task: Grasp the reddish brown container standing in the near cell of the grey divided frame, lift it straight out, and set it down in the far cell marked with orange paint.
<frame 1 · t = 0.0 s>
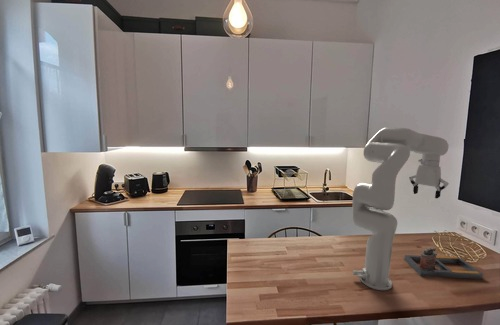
hand: (425, 195, 133), 31 cm above the table, tool pointing down, fingers open, 9 cm apart
grey divided frame: (440, 268, 122), on the table
reddish brown container: (427, 268, 123), resting in grey divided frame
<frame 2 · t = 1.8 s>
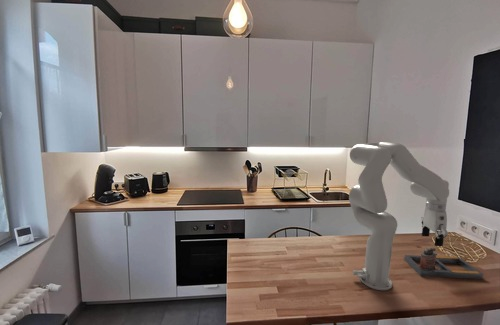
hand: (431, 240, 121), 14 cm above the table, tool pointing down, fingers open, 9 cm apart
nothing on the table moved.
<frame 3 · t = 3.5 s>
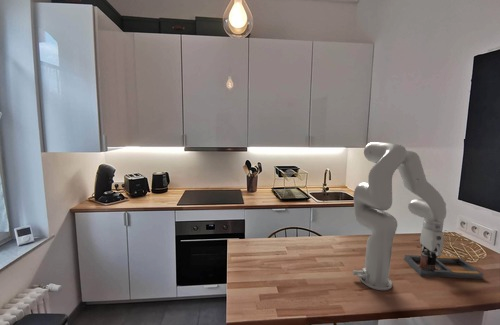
hand: (427, 261, 122), 3 cm above the table, tool pointing down, fingers closed on reddish brown container, 4 cm apart
reddish brown container: (426, 268, 123), resting in grey divided frame, touching gripper
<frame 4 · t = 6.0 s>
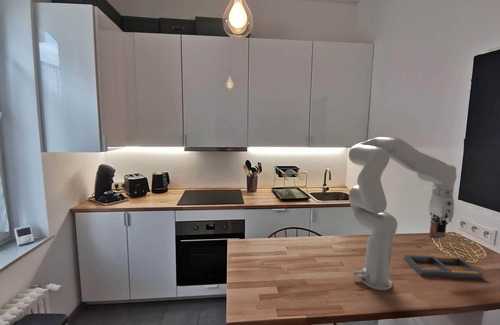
hand: (437, 229, 119), 20 cm above the table, tool pointing down, fingers closed on reddish brown container, 4 cm apart
reddish brown container: (436, 236, 120), point 16 cm above the table, touching gripper
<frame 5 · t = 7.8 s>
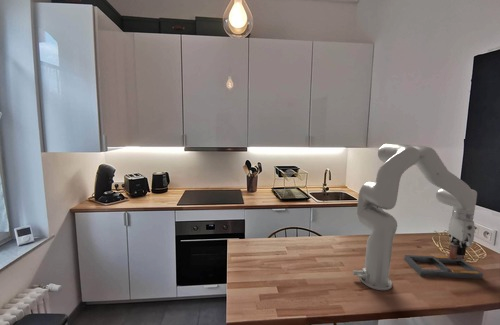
hand: (457, 252, 120), 9 cm above the table, tool pointing down, fingers closed on reddish brown container, 4 cm apart
reddish brown container: (456, 259, 121), point 5 cm above the table, touching gripper
when the fingers open (5 cm above the table, at t = 8.9 s): reddish brown container drops 1 cm, resting in grey divided frame.
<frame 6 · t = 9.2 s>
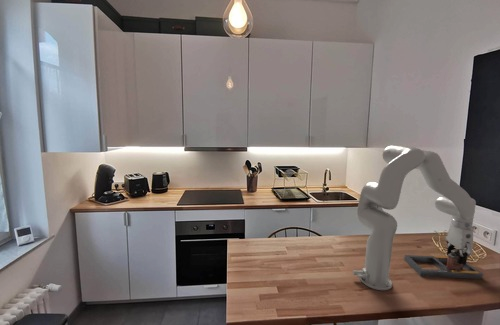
hand: (456, 259, 121), 5 cm above the table, tool pointing down, fingers open, 6 cm apart
reddish brown container: (454, 269, 122), resting in grey divided frame
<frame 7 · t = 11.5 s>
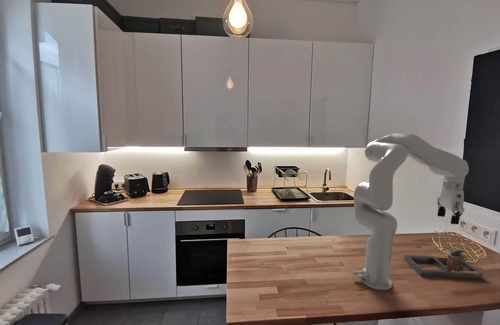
hand: (447, 220, 123), 23 cm above the table, tool pointing down, fingers open, 9 cm apart
nothing on the table moved.
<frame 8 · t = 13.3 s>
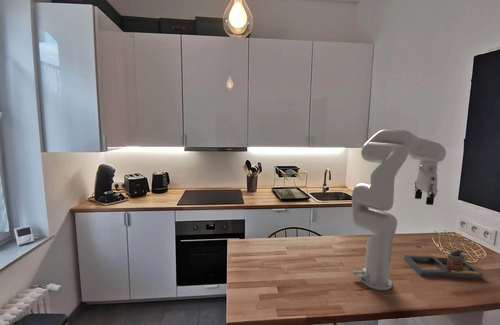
hand: (423, 201, 133), 28 cm above the table, tool pointing down, fingers open, 9 cm apart
nothing on the table moved.
at the end: reddish brown container 0.2 cm from the target spot on the grey divided frame, point 0.0 cm above the grey divided frame's base; reddish brown container tilted 0°; the gripper is holding nothing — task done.
